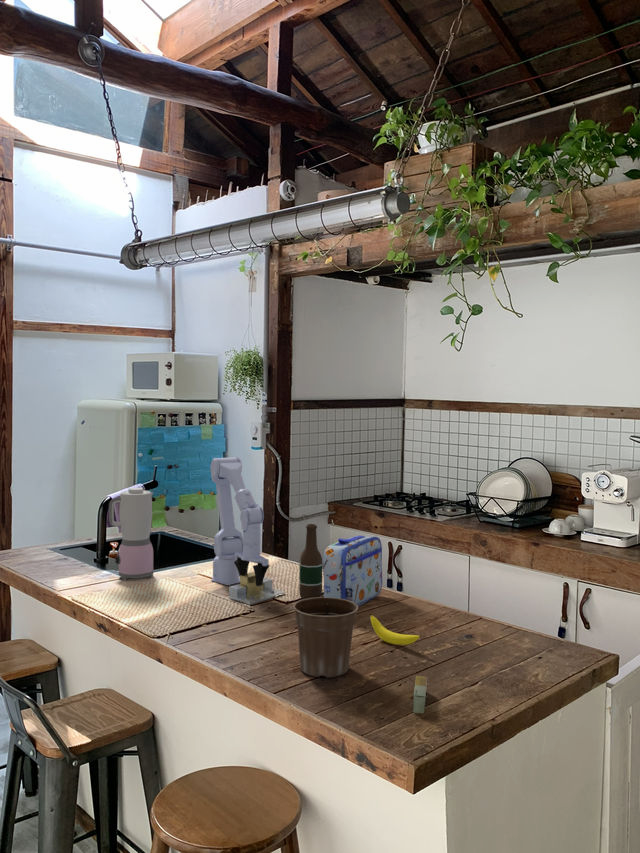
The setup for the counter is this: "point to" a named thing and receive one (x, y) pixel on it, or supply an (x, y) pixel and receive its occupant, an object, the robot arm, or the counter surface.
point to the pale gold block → (249, 583)
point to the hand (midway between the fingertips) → (251, 583)
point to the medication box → (419, 694)
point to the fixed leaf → (266, 593)
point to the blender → (134, 533)
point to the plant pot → (325, 635)
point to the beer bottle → (310, 566)
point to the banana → (391, 634)
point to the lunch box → (353, 569)
